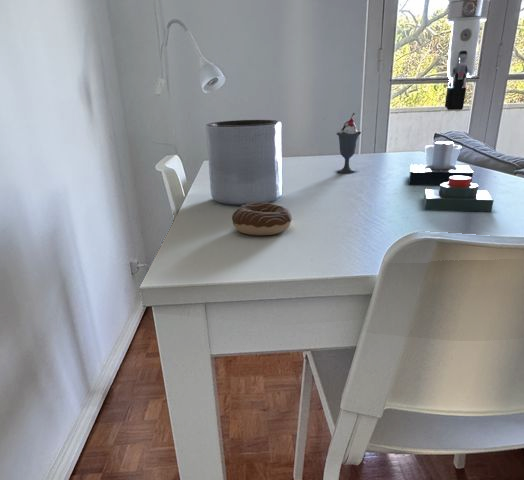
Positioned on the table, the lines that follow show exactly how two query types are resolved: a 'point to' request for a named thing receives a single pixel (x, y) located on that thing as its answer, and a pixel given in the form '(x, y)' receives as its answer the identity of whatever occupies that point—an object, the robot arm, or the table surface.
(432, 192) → the box
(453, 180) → the button
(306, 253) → the table surface
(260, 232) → the donut
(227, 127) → the planter
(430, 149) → the candle
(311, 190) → the table surface
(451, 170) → the block
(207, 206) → the table surface
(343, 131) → the sundae
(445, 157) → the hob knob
